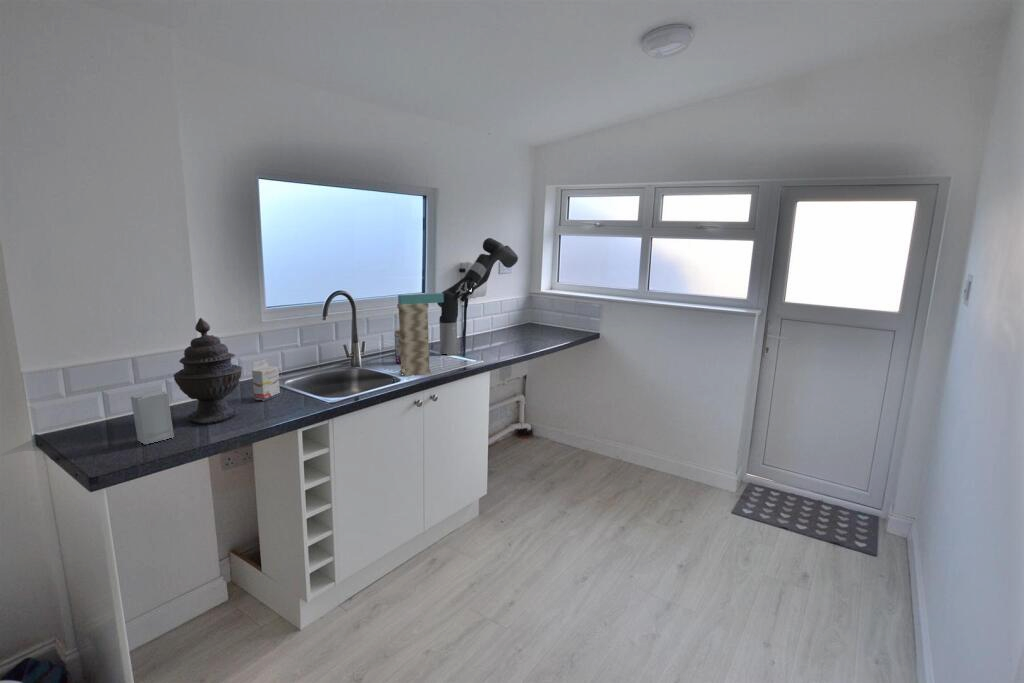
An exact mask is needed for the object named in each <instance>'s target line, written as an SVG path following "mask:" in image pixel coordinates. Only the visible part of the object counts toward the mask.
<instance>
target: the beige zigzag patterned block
mask: <svg viewBox="0 0 1024 683" xmlns="http://www.w3.org/2000/svg"><path fill="white" fill-rule="evenodd" d="M396 304H397V305H396V306H397V309H398V323H399V324H398V325H399V326H398V327H399V328H398V329H399V330H400V354H401V363H400V369H399V371H400V372H399V374H400V373H401V375H402V374H403V375H402V376H403V377H405V376H406V377H413V376H412V375H414V376H420V375H419V374H421V375H427V374H428V373H429V374H431V373H432V372H431V369H430V349H429V348H430V347H429V345H430V344H429V320H428V319H429V314H428V309H429V303H424V304H408V305H400V304H398V303H396Z"/></svg>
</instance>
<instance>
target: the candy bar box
mask: <svg viewBox="0 0 1024 683" xmlns="http://www.w3.org/2000/svg"><path fill="white" fill-rule="evenodd" d="M394 353H395V355H394V356H395V363H396V362H401V354H400V330H399V328H398V329H396V330H394Z"/></svg>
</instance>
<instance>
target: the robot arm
mask: <svg viewBox="0 0 1024 683" xmlns="http://www.w3.org/2000/svg"><path fill="white" fill-rule="evenodd" d="M482 249H483V251H484V252H486V253H488V254H486V253H480V254H479V255H478V257H477V258H476V260H475V261H474V263H472V265H471V266H470V267H469V268H468V271H466V273H465V275H464V277H462V278H461V279H460V280H459V281H458V282H456V283H455V284H453V285H451V286H450V287H449V288H446V289H445V290H444V291H441V293H443V295H444V302H441V303H436V304H437V306H438V307H440V309H441V310H440V312H441V314H440V316H439V346H440V347H439V351H440V353H441V354H447V355H446V356H455V355H458V354H460V340H459V339H460V338H459V335H458V317H459V300H458V299H460V301H461V302H462V303H463V302H465V301H466V299H468V297H469V296H470V295H471V296H472V295H473V293H474V291H475V290H477V289H479V288H480V287H481V286H483V285H484V284H486V283H487V282H488V280H489V278H490V275H491V272H492V268H493V267H494V265H495V263H496V262H497V261H499V262H500V263H501V264H502V266H504V267H505V268H507V269H509V268H512V267H513V266H515V265H516V264H517V263H518V259H519V257H518V255H517V253H515V251H514V250H513V249H512V248H511V247H510V246H509V245H504V244H503V243H501V242H500V241H498V240H495V239H494V238H492V237H488V238H486V239H484V240H483V243H482ZM441 354H440V355H441Z"/></svg>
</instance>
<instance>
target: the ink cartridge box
mask: <svg viewBox="0 0 1024 683" xmlns="http://www.w3.org/2000/svg"><path fill="white" fill-rule="evenodd" d="M269 361H270V360H269V358H266V359H262V360H258V361H254V362H252V364H251V365H252V366H251V367H252V368H251V369H252V371H251V374H252V375H251V376H252V386H253V389H252V390H253V398H254V397H255V398H261V399H264V398H268V397H270V396H273V395H275V394H278V393H280V394H281V389H280V388H281V387H280V376H279V374H280V373H279V366H270V365H269V364H270V363H269ZM260 364H261V365H260Z"/></svg>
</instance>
